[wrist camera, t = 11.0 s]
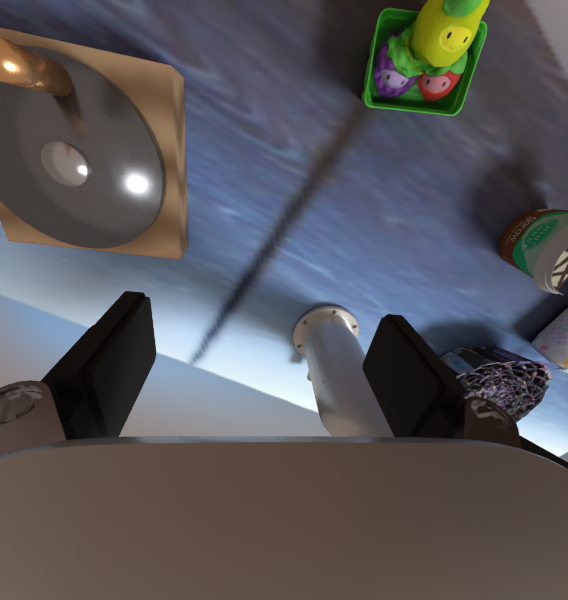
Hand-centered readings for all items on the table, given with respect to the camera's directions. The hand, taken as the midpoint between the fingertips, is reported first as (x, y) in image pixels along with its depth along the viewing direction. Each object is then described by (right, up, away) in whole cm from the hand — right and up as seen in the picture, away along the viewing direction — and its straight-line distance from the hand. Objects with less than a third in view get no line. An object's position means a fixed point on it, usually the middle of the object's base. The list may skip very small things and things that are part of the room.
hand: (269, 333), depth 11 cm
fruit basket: (+15, +29, +20) cm, 38 cm away
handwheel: (-22, +16, +17) cm, 32 cm away
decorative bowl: (+41, -17, +50) cm, 67 cm away
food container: (+39, +13, +32) cm, 52 cm away
